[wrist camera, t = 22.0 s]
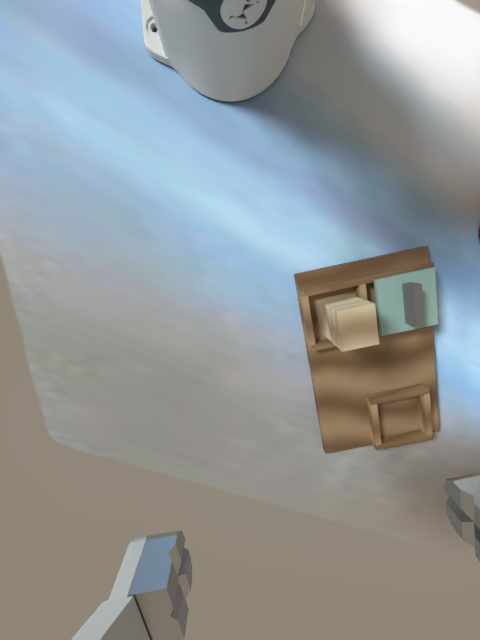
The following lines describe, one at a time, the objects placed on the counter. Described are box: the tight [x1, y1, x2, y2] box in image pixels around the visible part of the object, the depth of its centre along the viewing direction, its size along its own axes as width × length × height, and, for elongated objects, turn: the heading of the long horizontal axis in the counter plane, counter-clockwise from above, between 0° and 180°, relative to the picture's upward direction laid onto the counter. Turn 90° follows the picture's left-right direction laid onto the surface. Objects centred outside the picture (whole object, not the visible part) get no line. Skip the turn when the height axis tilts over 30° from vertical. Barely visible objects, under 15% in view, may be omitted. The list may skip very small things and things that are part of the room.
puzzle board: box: [294, 246, 439, 453], centre depth 39 cm, size 27×17×3 cm, turn 12°
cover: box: [374, 267, 438, 336], centre depth 35 cm, size 7×7×3 cm
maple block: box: [316, 293, 379, 352], centre depth 34 cm, size 4×4×8 cm
